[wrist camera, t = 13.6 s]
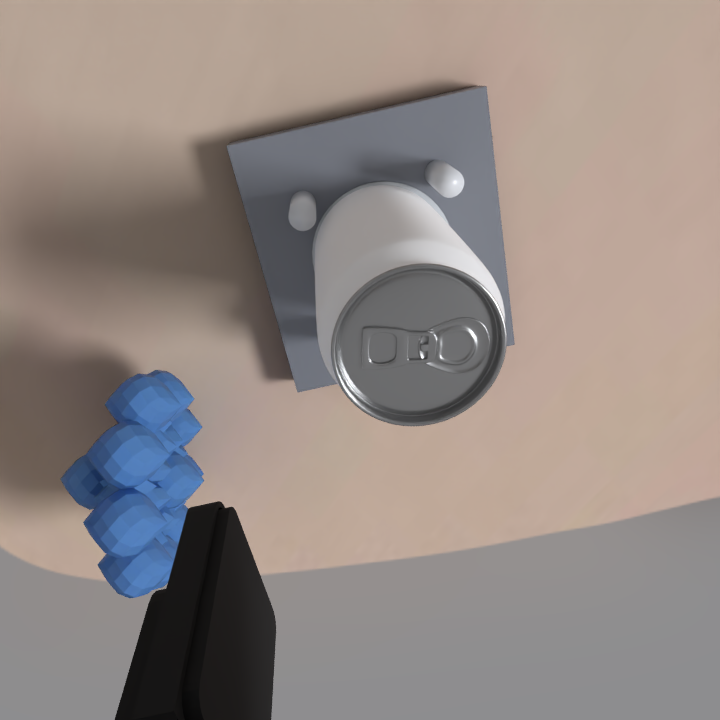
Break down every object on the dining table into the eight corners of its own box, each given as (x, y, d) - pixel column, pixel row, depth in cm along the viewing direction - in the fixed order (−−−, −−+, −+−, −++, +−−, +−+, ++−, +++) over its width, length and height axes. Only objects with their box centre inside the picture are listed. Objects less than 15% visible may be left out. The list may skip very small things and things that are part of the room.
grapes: (85, 319, 33) (-27, 444, 22) (216, 323, 33) (171, 446, 22) (109, 499, 37) (27, 674, 27) (223, 499, 38) (188, 670, 27)
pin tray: (230, 142, 29) (217, 154, 25) (478, 85, 29) (505, 87, 25) (298, 380, 35) (296, 420, 31) (506, 333, 35) (532, 368, 31)
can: (441, 311, 32) (509, 434, 21) (315, 313, 31) (319, 441, 21) (449, 182, 29) (533, 248, 18) (312, 183, 29) (314, 251, 18)
